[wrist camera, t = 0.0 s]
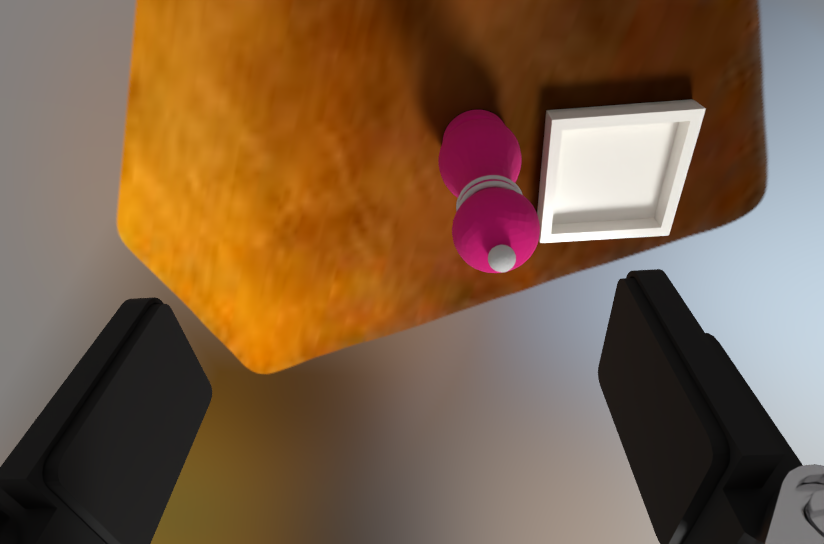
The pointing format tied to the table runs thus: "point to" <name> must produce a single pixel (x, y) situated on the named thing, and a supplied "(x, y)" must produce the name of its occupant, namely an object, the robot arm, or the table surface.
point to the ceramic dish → (615, 169)
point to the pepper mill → (487, 193)
